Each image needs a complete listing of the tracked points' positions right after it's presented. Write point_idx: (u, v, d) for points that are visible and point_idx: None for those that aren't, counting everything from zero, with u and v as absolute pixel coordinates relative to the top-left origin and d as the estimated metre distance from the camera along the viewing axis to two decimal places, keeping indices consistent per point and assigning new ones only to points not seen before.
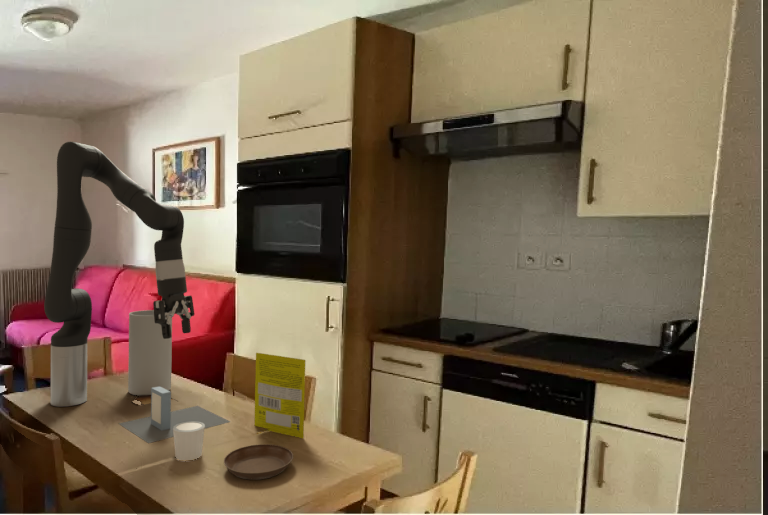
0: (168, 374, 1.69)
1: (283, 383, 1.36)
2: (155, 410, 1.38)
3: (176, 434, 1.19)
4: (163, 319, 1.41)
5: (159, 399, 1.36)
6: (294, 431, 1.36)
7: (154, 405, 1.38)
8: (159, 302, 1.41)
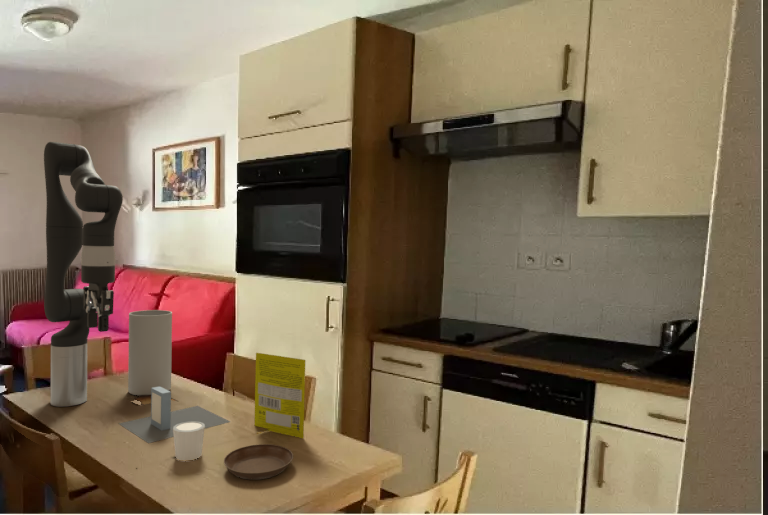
0: (168, 374, 1.69)
1: (283, 383, 1.36)
2: (155, 410, 1.38)
3: (176, 434, 1.19)
4: (84, 306, 1.38)
5: (159, 399, 1.36)
6: (294, 431, 1.36)
7: (154, 405, 1.38)
8: None
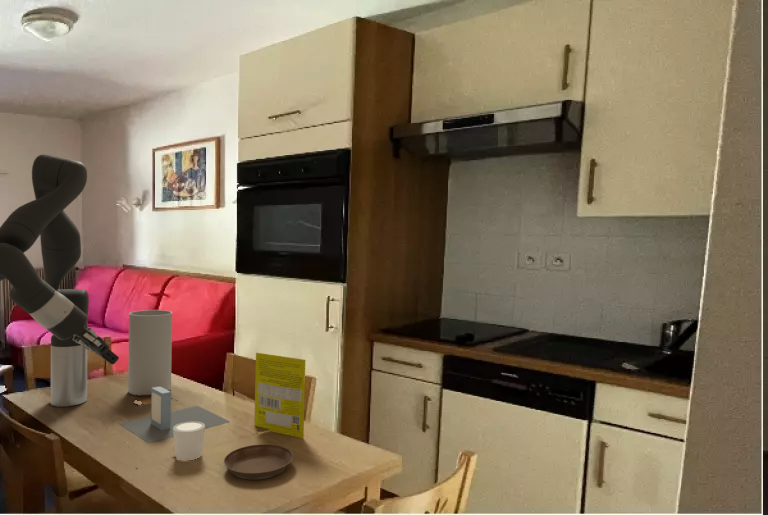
0: (168, 374, 1.69)
1: (283, 383, 1.36)
2: (155, 410, 1.38)
3: (176, 434, 1.19)
4: None
5: (159, 399, 1.36)
6: (294, 431, 1.36)
7: (154, 405, 1.38)
8: None
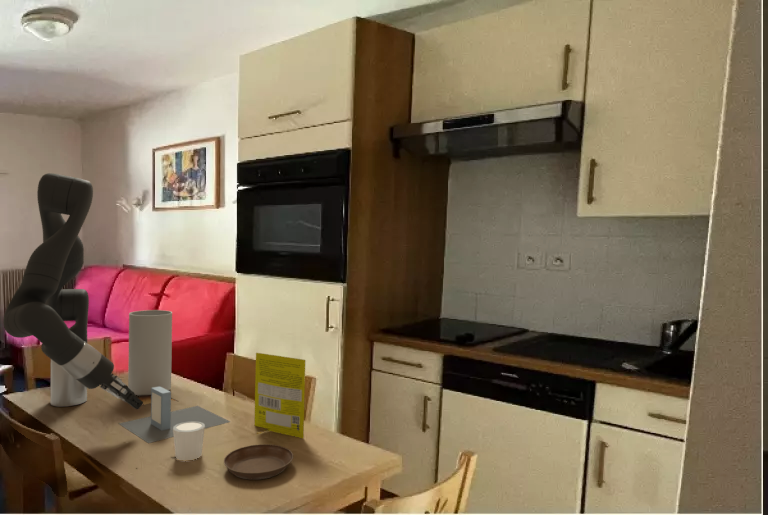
0: (168, 374, 1.69)
1: (283, 383, 1.36)
2: (155, 410, 1.38)
3: (176, 434, 1.19)
4: None
5: (159, 399, 1.36)
6: (294, 431, 1.36)
7: (154, 405, 1.38)
8: None
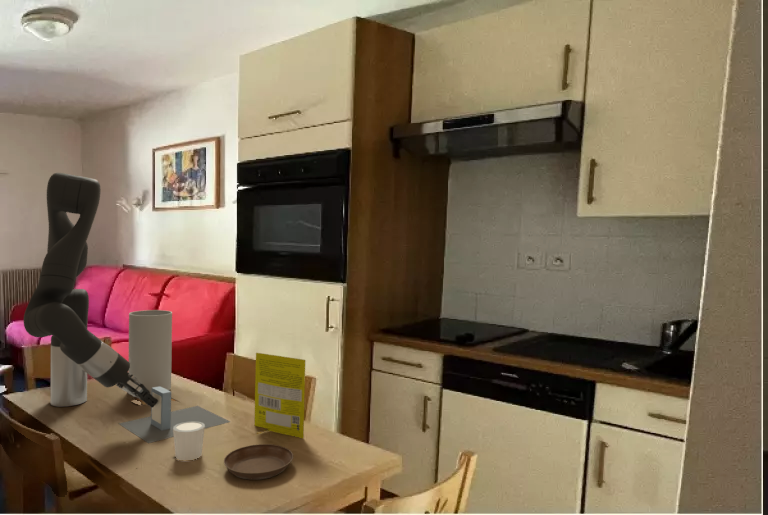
0: (168, 374, 1.69)
1: (283, 383, 1.36)
2: (155, 410, 1.38)
3: (176, 434, 1.19)
4: None
5: (159, 399, 1.36)
6: (294, 431, 1.36)
7: None
8: None
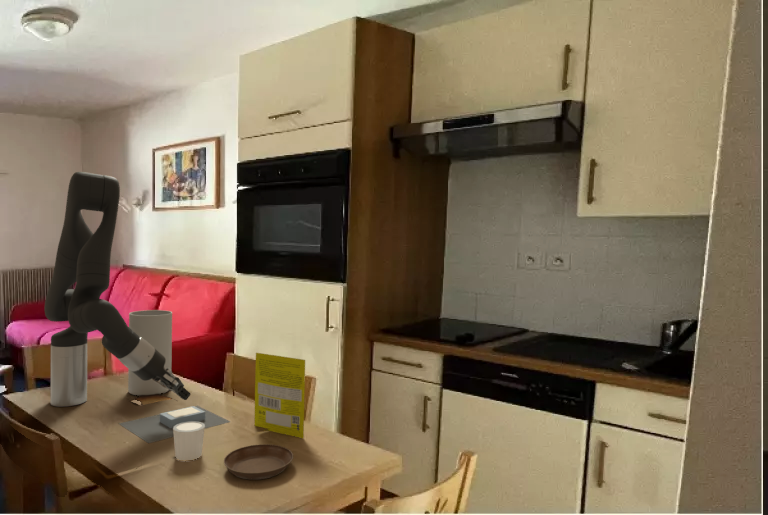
0: None
1: (283, 383, 1.36)
2: (180, 412, 1.43)
3: (176, 434, 1.19)
4: None
5: (196, 411, 1.44)
6: (294, 431, 1.36)
7: (183, 410, 1.44)
8: None
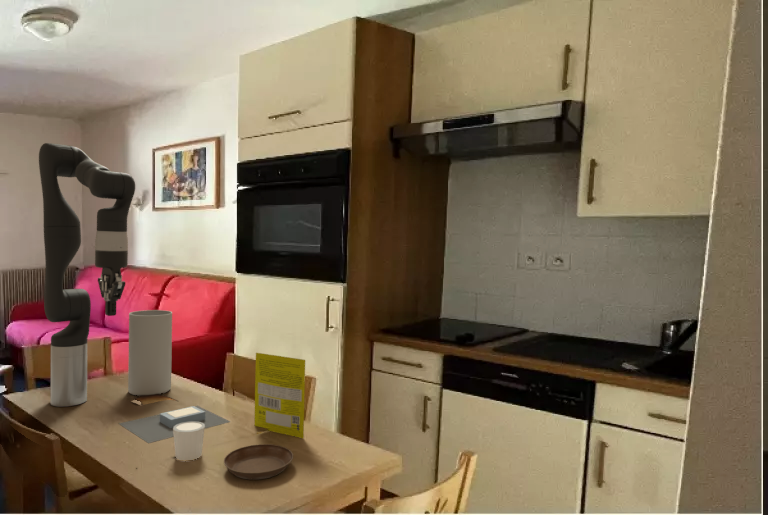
0: (168, 374, 1.69)
1: (283, 383, 1.36)
2: (180, 412, 1.43)
3: (176, 434, 1.19)
4: (102, 294, 1.40)
5: (196, 411, 1.44)
6: (294, 431, 1.36)
7: (183, 410, 1.44)
8: None
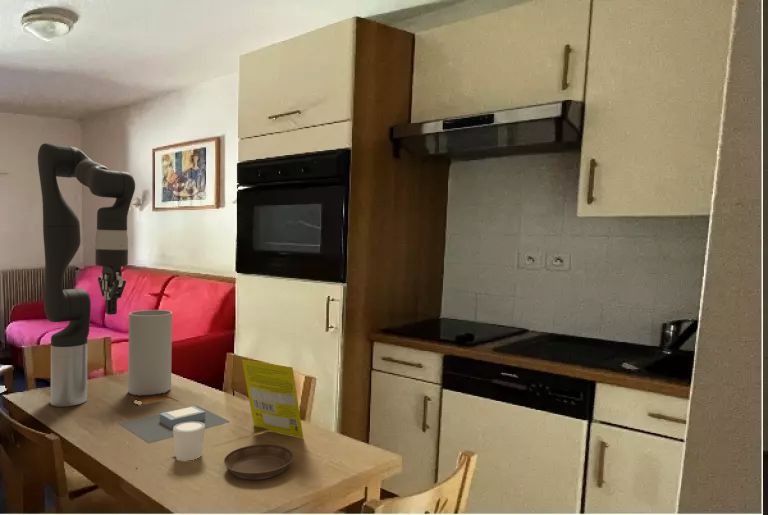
0: (168, 374, 1.69)
1: (274, 389, 1.33)
2: (180, 412, 1.43)
3: (176, 434, 1.19)
4: (102, 293, 1.40)
5: (196, 411, 1.44)
6: (293, 431, 1.35)
7: (183, 410, 1.44)
8: None
